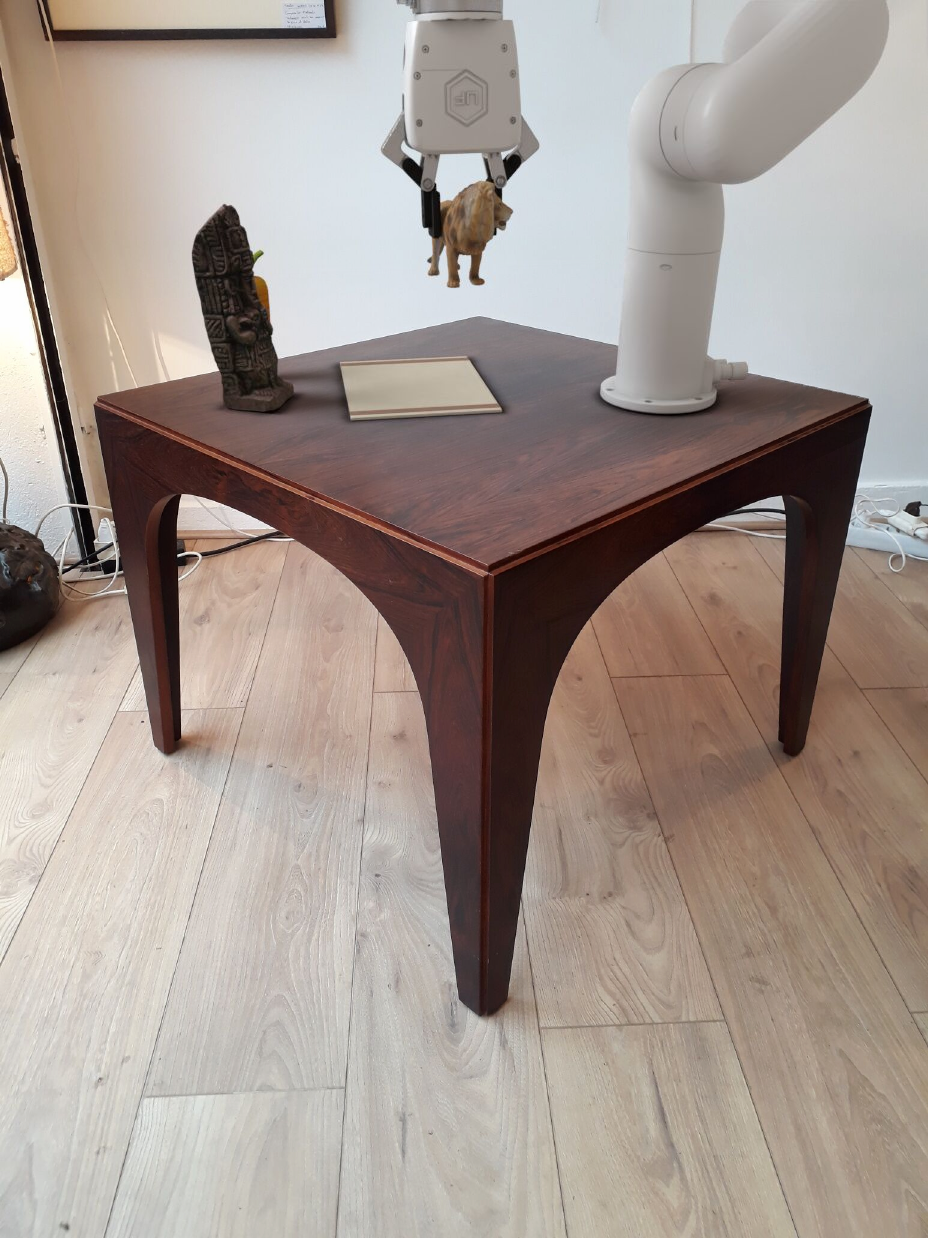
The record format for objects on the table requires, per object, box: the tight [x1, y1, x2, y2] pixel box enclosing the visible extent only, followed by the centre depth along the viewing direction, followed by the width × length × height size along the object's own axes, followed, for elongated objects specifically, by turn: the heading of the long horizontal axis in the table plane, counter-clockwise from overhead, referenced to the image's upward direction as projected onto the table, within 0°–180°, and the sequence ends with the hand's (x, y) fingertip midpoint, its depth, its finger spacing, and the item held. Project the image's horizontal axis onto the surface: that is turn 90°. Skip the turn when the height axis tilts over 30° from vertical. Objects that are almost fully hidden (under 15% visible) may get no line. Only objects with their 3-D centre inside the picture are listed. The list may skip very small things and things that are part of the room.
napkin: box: [339, 355, 503, 422], centre depth 105 cm, size 16×22×1 cm
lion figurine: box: [426, 180, 514, 289], centre depth 85 cm, size 15×5×9 cm, turn 25°
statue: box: [191, 203, 295, 412], centre depth 94 cm, size 7×7×20 cm
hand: (462, 232), depth 85 cm, fingers closed on lion figurine, 4 cm apart
